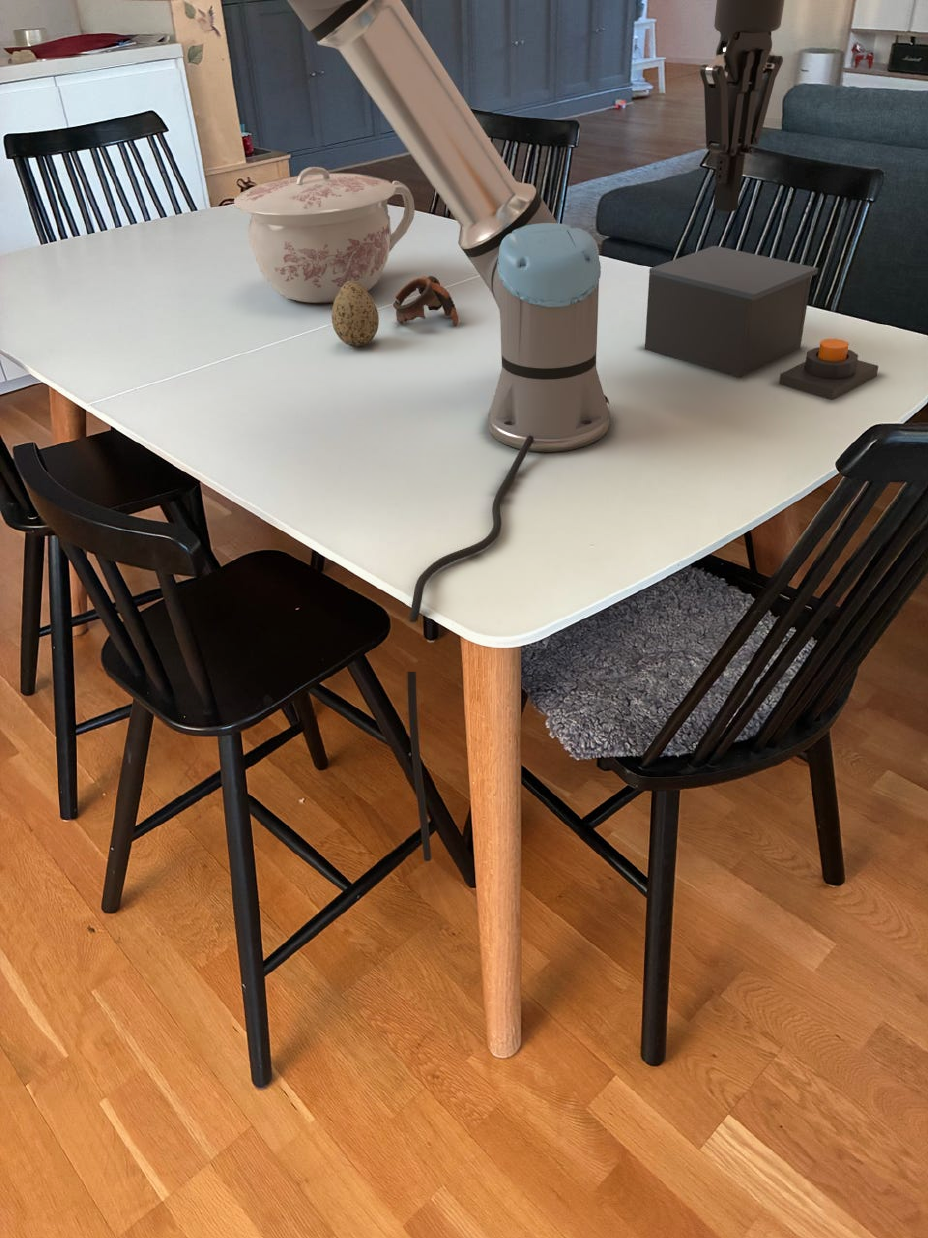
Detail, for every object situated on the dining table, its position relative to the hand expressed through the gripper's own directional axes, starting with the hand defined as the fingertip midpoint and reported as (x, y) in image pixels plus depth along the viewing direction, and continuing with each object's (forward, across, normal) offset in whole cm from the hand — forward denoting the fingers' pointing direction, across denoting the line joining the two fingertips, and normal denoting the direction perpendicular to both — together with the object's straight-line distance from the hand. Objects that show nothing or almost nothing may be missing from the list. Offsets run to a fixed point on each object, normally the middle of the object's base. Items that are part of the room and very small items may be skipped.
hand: (724, 208), depth 124 cm
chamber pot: (+23, +17, -71) cm, 76 cm away
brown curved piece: (+22, +14, -45) cm, 52 cm away
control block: (+21, -8, +14) cm, 27 cm away
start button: (+18, -8, +14) cm, 24 cm away
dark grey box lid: (+10, -8, -3) cm, 13 cm away
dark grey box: (+21, -8, -3) cm, 23 cm away
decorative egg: (+23, +28, -45) cm, 58 cm away
